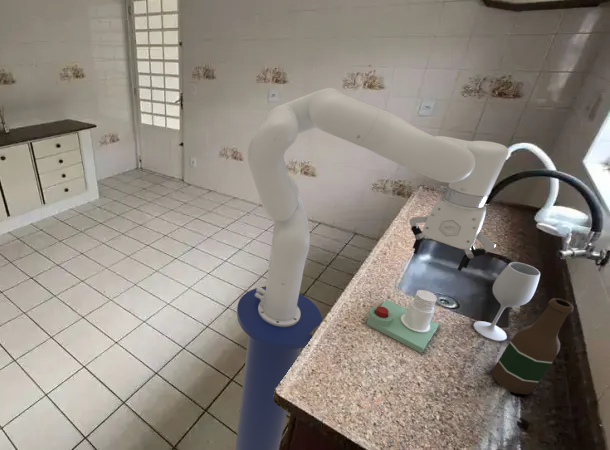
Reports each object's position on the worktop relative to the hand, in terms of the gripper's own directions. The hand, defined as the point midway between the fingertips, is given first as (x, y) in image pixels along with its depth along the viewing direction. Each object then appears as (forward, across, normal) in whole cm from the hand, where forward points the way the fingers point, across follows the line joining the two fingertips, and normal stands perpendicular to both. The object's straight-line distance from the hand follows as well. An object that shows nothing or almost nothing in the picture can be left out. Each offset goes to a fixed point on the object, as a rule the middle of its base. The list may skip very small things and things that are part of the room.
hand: (437, 259), depth 87 cm
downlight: (+21, +1, 0) cm, 21 cm away
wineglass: (+22, +16, +15) cm, 31 cm away
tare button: (+20, -6, -5) cm, 21 cm away
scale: (+23, -1, -1) cm, 23 cm away
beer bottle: (+22, +23, -1) cm, 32 cm away
